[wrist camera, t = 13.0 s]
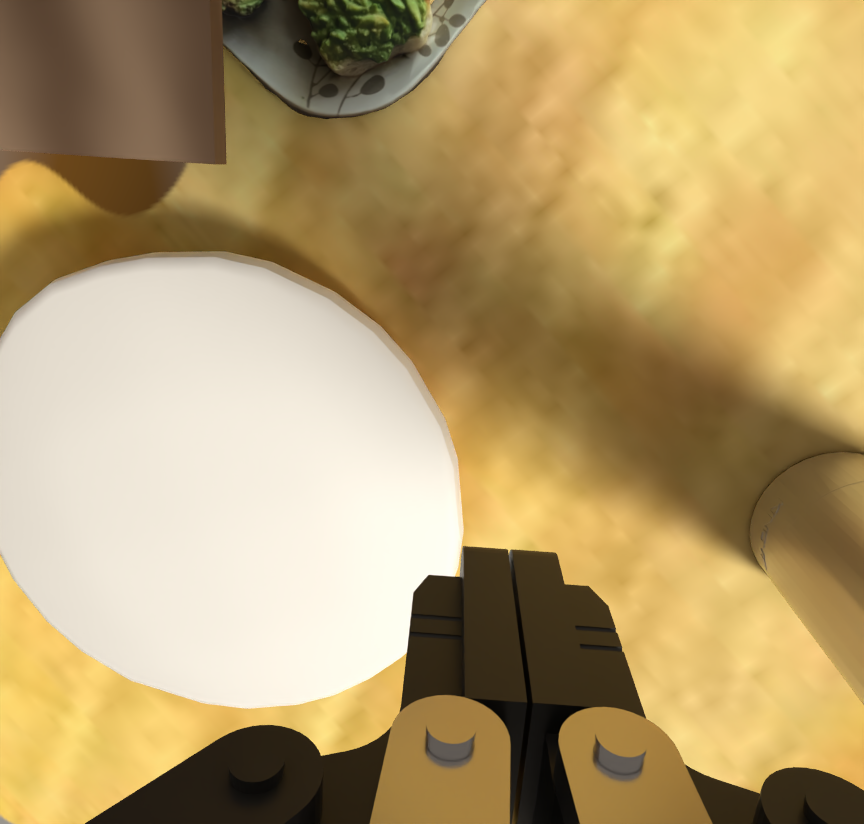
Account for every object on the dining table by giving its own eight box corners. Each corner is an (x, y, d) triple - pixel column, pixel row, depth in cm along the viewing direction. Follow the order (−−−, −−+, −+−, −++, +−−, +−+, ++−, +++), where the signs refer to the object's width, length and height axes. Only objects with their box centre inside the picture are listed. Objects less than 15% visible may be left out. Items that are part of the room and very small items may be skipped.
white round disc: (518, 678, 42) (99, 764, 45) (509, 603, 48) (139, 684, 51) (363, 192, 30) (-179, 356, 34) (376, 173, 36) (-87, 314, 40)
